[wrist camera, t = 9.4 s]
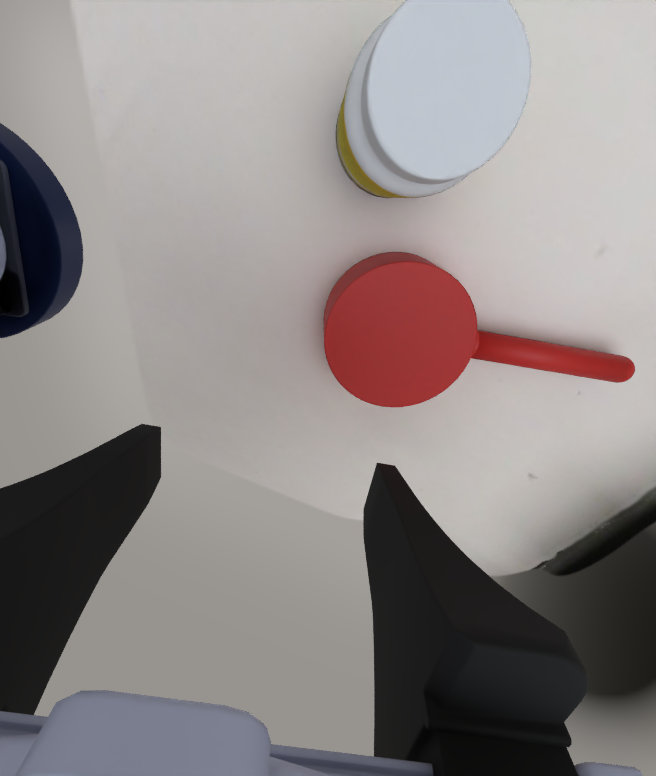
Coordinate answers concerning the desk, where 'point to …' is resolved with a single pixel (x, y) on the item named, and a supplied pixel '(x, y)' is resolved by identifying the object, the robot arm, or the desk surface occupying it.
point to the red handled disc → (427, 335)
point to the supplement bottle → (433, 96)
